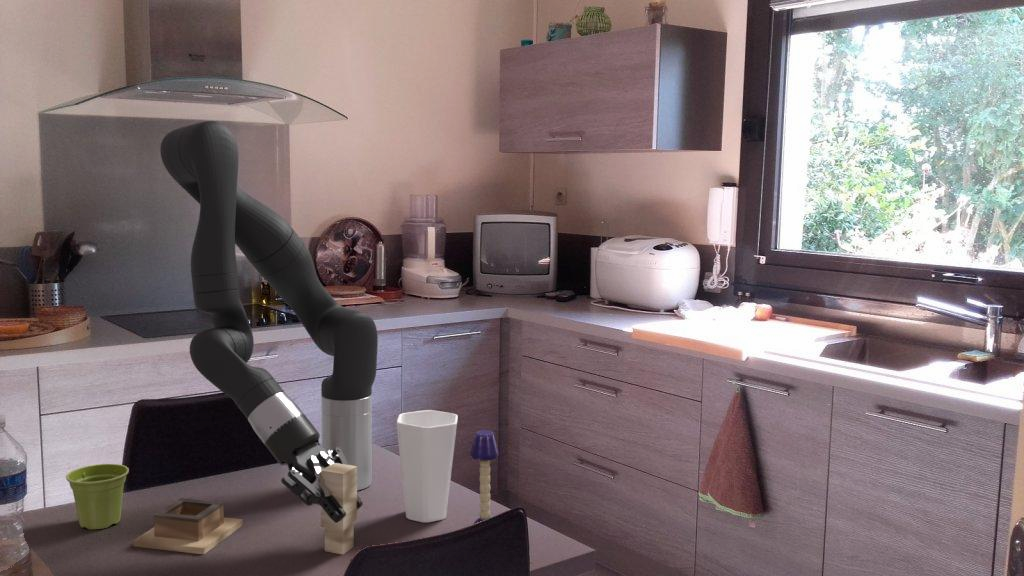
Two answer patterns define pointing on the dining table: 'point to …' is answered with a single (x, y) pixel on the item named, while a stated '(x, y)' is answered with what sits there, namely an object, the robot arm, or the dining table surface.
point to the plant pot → (98, 494)
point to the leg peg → (345, 492)
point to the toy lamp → (484, 467)
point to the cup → (426, 462)
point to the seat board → (189, 527)
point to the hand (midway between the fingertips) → (349, 513)
